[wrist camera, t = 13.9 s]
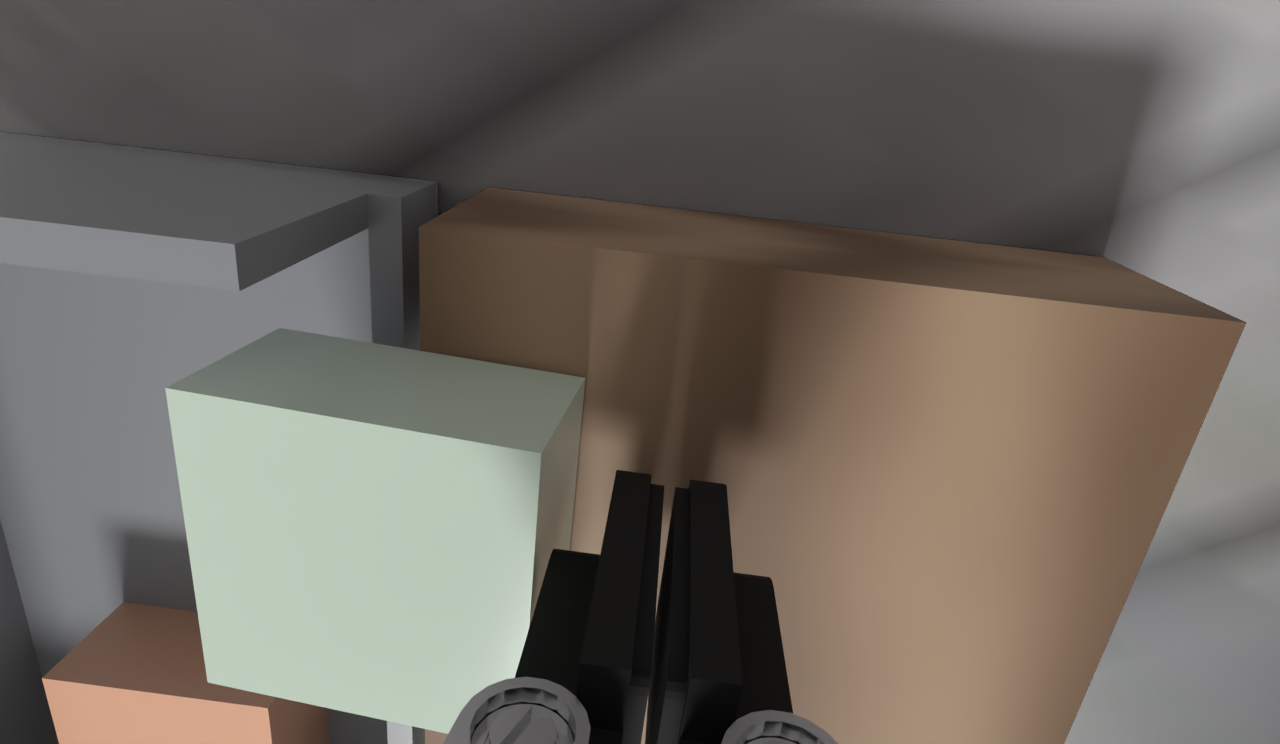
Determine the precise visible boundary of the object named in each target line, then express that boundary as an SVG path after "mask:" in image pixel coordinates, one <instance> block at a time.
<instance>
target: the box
mask: <svg viewBox="0 0 1280 744" xmlns="http://www.w3.org/2000/svg"><path fill="white" fill-rule="evenodd" d="M437 216H438V181H429V180H420V179H412V178H403V177H394V176H385V175H376V174H368V173H359V172H350V171H341V170H332V169H324V168H315V167H306V166H297V165H289V164H280V163H271V162H262V161H253V160H245V159H236V158H227V157H218V156H209V155H201V154H192V153H183V152H174V151H166V150H157V149H148V148H139V147H130V146H122V145H113V144H104V143H95V142H87V141H78V140H69V139H60V138H51V137H43V136H34V135H25V134H16V133H7V132H0V744H59V741H58V738H57V734H56V730H55V726H54V723H53V719H52V715H51V711H50V707H49V704H48V700H47V696H46V692H45V689H44V685H43V681H42V678H43V677H44V676H45V675H46V674H47V673H48V672H49V671H50V670H51V669H52V668H53V667H54V666H55V665H56V664H58V663H59V662H60V661H61V660H62V659H63V658H64V657H65V656H66V655H67V654H68V653H69V652H70V651H71V650H72V649H74V648H75V647H76V646H77V645H78V644H79V643H80V642H81V641H82V640H83V639H84V638H85V637H86V636H87V635H89V634H90V633H91V632H92V631H93V630H94V629H95V628H96V627H97V626H98V625H99V624H100V623H101V622H102V621H104V620H105V619H106V618H107V617H108V616H109V615H110V614H111V613H112V612H113V611H114V610H115V609H116V608H117V607H119V606H120V605H121V604H122V603H123V602H126V603H134V604H141V605H149V606H157V607H164V608H172V609H180V610H187V611H195V612H197V605H196V598H195V592H194V585H193V578H192V571H191V564H190V557H189V550H188V543H187V536H186V529H185V522H184V515H183V508H182V501H181V494H180V487H179V480H178V473H177V466H176V460H175V453H174V446H173V439H172V432H171V425H170V418H169V411H168V404H167V397H166V390H165V388H166V387H168V386H170V385H172V384H174V383H176V382H177V381H179V380H181V379H183V378H185V377H187V376H189V375H191V374H193V373H195V372H197V371H198V370H200V369H202V368H204V367H206V366H208V365H210V364H212V363H214V362H216V361H218V360H219V359H221V358H223V357H225V356H227V355H229V354H231V353H233V352H235V351H237V350H239V349H240V348H242V347H244V346H246V345H248V344H250V343H252V342H254V341H256V340H258V339H260V338H261V337H263V336H265V335H267V334H269V333H271V332H273V331H275V330H277V329H279V328H284V329H290V330H296V331H302V332H308V333H314V334H321V335H327V336H333V337H339V338H345V339H351V340H357V341H363V342H369V343H376V344H382V345H388V346H394V347H400V348H406V349H412V350H418V351H420V290H419V227H420V226H422V225H423V224H425V223H427V222H429V221H430V220H432V219H434V218H436V217H437ZM328 720H329V733H330V744H425V729H423V728H418V727H413V726H409V725H404V724H399V723H395V722H390V721H385V720H381V719H376V718H371V717H367V716H362V715H357V714H353V713H348V712H343V711H339V710H334V709H329V708H328Z"/></svg>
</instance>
